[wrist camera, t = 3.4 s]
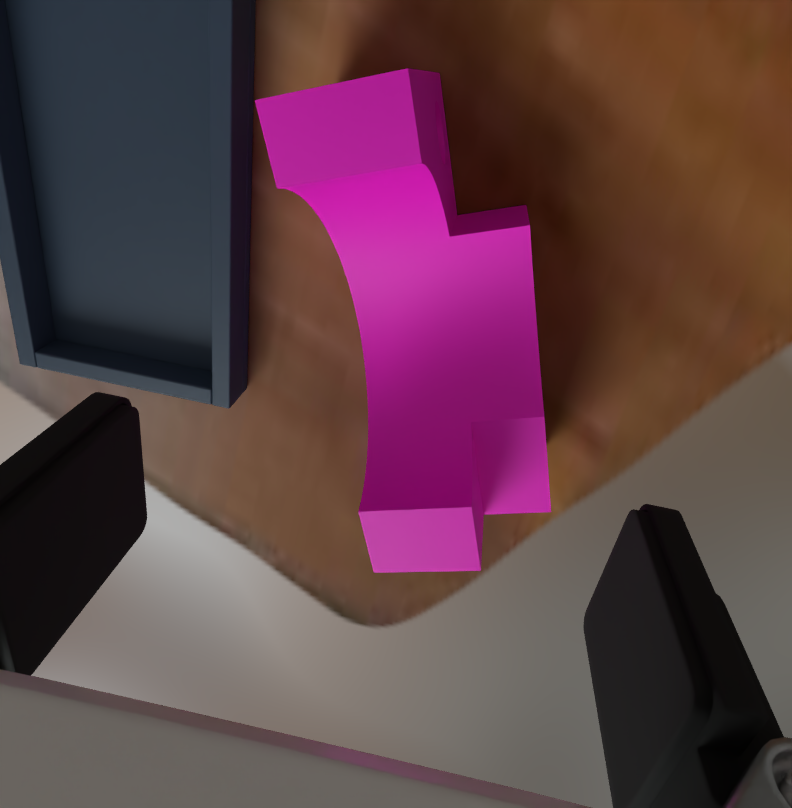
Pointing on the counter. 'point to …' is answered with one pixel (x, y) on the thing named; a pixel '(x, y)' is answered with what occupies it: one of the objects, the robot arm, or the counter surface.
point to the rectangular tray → (129, 190)
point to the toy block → (423, 315)
